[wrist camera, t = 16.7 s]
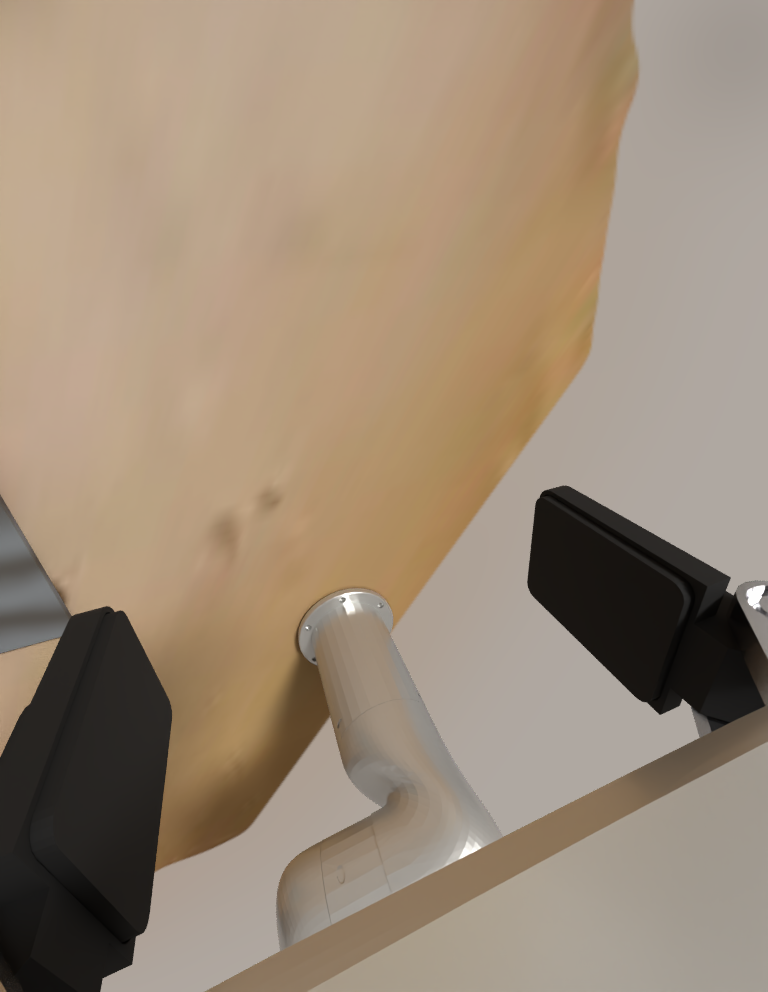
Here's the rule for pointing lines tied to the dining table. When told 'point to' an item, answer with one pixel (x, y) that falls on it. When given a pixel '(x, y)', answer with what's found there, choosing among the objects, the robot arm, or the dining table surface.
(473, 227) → the dining table surface
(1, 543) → the shallow tray
